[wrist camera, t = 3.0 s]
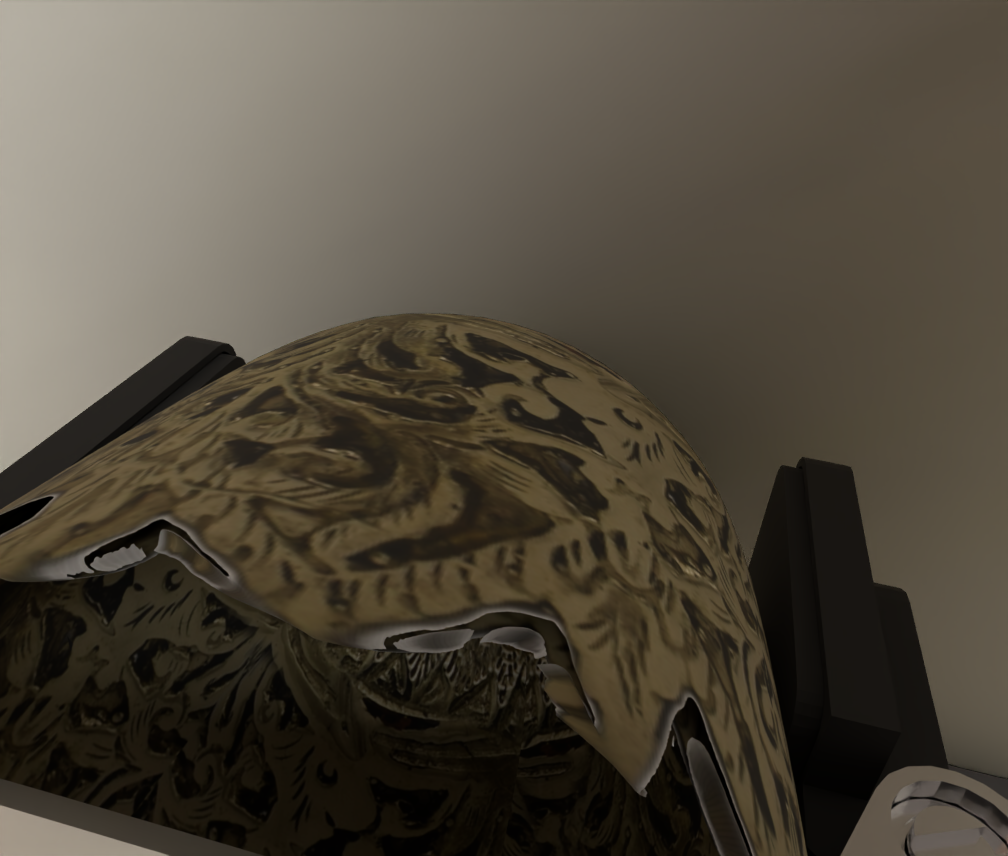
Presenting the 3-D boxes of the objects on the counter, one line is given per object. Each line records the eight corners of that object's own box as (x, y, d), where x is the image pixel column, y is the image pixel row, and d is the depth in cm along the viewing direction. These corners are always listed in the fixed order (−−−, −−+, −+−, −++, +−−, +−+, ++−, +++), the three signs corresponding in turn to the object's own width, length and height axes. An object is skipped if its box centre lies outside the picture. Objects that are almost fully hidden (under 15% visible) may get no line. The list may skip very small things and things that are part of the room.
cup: (431, 663, 15) (186, 1239, 9) (186, 300, 13) (-430, 723, 6) (866, 564, 12) (1006, 1342, 6) (660, 59, 10) (460, 375, 3)
